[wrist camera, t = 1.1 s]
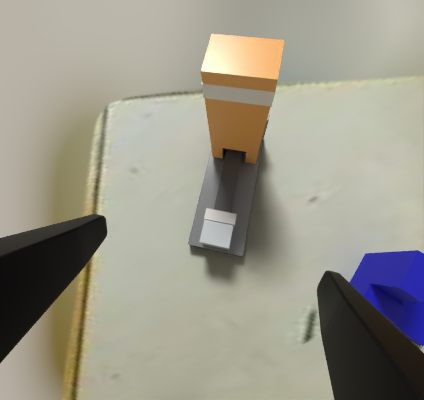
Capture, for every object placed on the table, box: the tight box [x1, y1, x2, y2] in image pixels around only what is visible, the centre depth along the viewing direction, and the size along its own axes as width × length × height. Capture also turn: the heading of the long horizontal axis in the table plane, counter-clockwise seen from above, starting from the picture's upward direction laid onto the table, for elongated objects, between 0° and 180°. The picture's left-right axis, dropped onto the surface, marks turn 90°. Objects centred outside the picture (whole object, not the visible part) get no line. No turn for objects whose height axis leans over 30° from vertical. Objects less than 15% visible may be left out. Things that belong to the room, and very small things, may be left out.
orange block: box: [201, 34, 284, 164], centre depth 18 cm, size 3×5×11 cm
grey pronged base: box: [188, 115, 270, 257], centre depth 21 cm, size 14×5×4 cm, turn 168°
